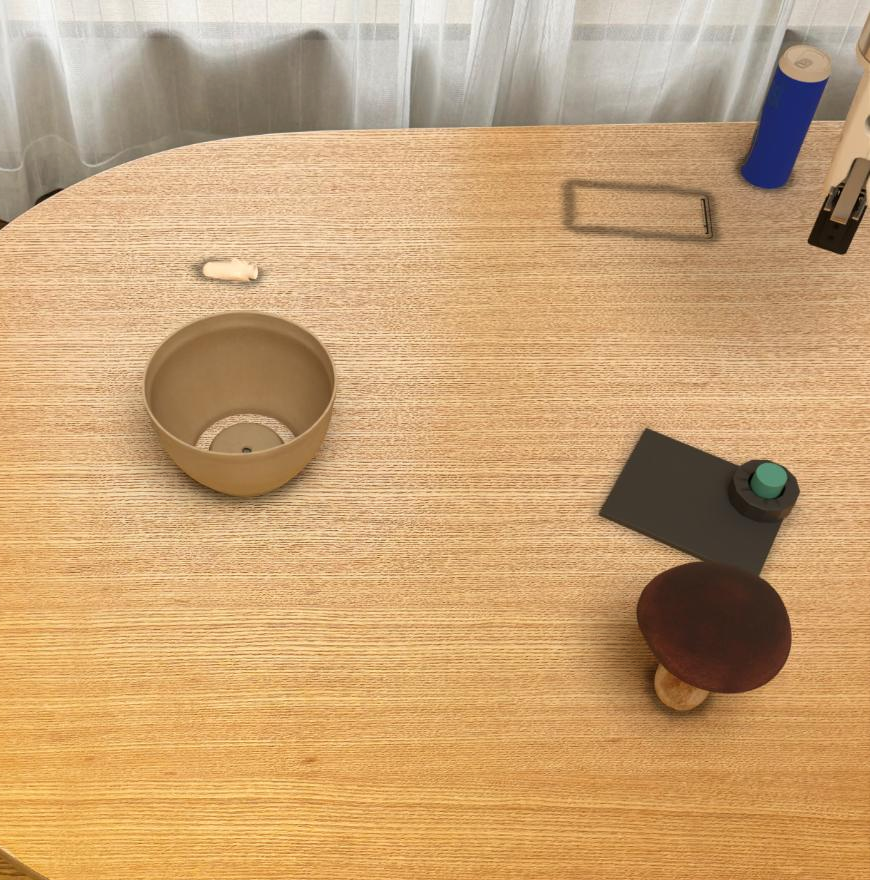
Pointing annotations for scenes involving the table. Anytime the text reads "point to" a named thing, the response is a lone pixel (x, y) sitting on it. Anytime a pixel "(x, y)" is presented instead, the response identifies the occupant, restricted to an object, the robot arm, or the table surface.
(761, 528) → the scale
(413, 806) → the table surface
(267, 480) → the planter bowl
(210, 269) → the small white plastic part
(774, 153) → the beverage can
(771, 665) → the decorative mushroom
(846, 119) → the robot arm
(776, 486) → the button
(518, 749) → the table surface
